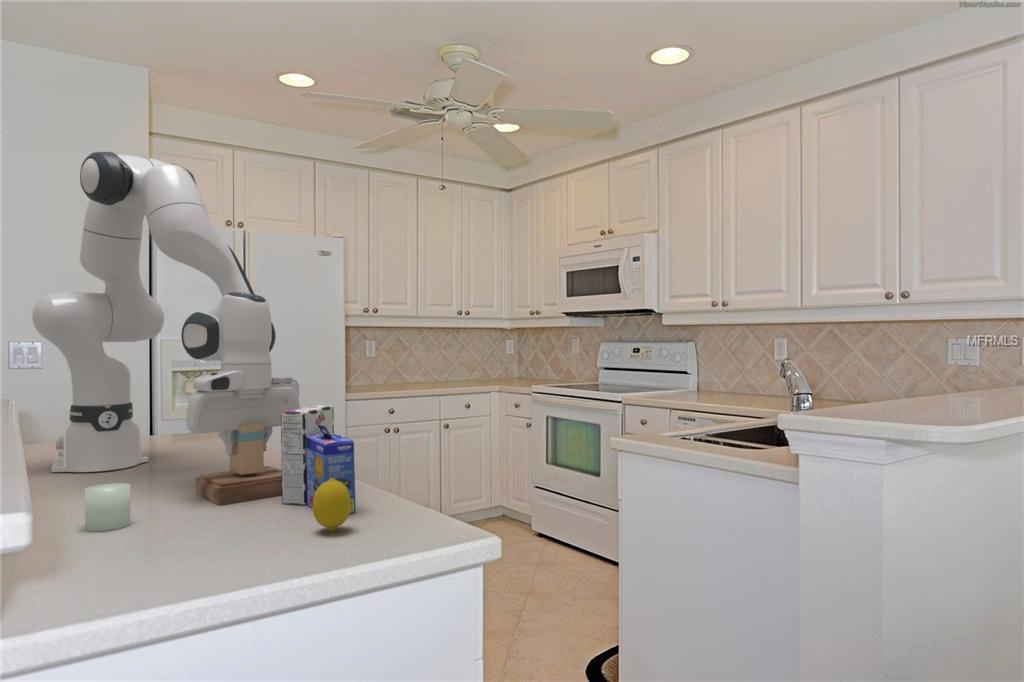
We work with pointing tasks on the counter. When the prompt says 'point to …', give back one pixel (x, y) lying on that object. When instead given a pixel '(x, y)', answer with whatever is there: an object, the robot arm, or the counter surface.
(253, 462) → the carton
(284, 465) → the candy bar box
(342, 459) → the ink cartridge box
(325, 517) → the lemon
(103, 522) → the pale green candle
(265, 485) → the podium
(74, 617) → the counter surface
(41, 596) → the counter surface
